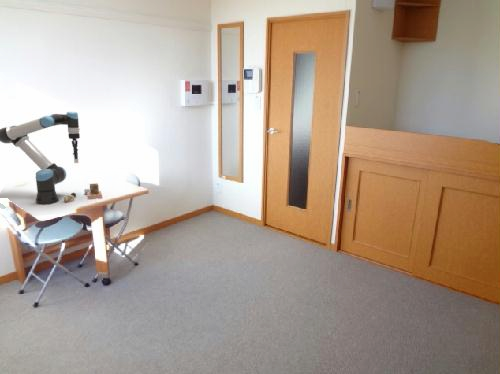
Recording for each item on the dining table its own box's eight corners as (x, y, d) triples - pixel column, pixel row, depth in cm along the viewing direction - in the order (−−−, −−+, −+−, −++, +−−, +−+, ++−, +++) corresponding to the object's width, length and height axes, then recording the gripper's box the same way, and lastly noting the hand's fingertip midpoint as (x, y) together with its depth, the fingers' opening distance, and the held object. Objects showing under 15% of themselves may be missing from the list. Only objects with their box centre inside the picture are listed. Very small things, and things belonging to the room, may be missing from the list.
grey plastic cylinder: (84, 195, 308) (84, 190, 307) (84, 193, 311) (84, 189, 310) (90, 194, 309) (89, 190, 308) (90, 193, 313) (89, 188, 312)
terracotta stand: (88, 199, 298) (87, 195, 297) (87, 195, 307) (87, 192, 306) (102, 198, 302) (101, 194, 301) (101, 194, 311) (100, 190, 310)
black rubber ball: (71, 198, 299) (70, 193, 298) (71, 196, 303) (70, 192, 302) (76, 197, 301) (75, 193, 300) (76, 196, 304) (75, 191, 303)
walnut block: (90, 194, 300) (89, 185, 298) (90, 192, 305) (89, 183, 303) (98, 193, 302) (98, 185, 300) (98, 191, 307) (97, 183, 305)
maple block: (66, 202, 288) (65, 197, 287) (64, 201, 291) (63, 196, 290) (74, 201, 292) (74, 196, 291) (72, 200, 295) (72, 195, 294)
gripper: (79, 135, 279) (82, 164, 284) (79, 130, 301) (81, 157, 306) (68, 135, 276) (70, 164, 281) (68, 130, 298) (70, 158, 303)
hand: (76, 161), depth 294 cm, fingers open, 13 cm apart
